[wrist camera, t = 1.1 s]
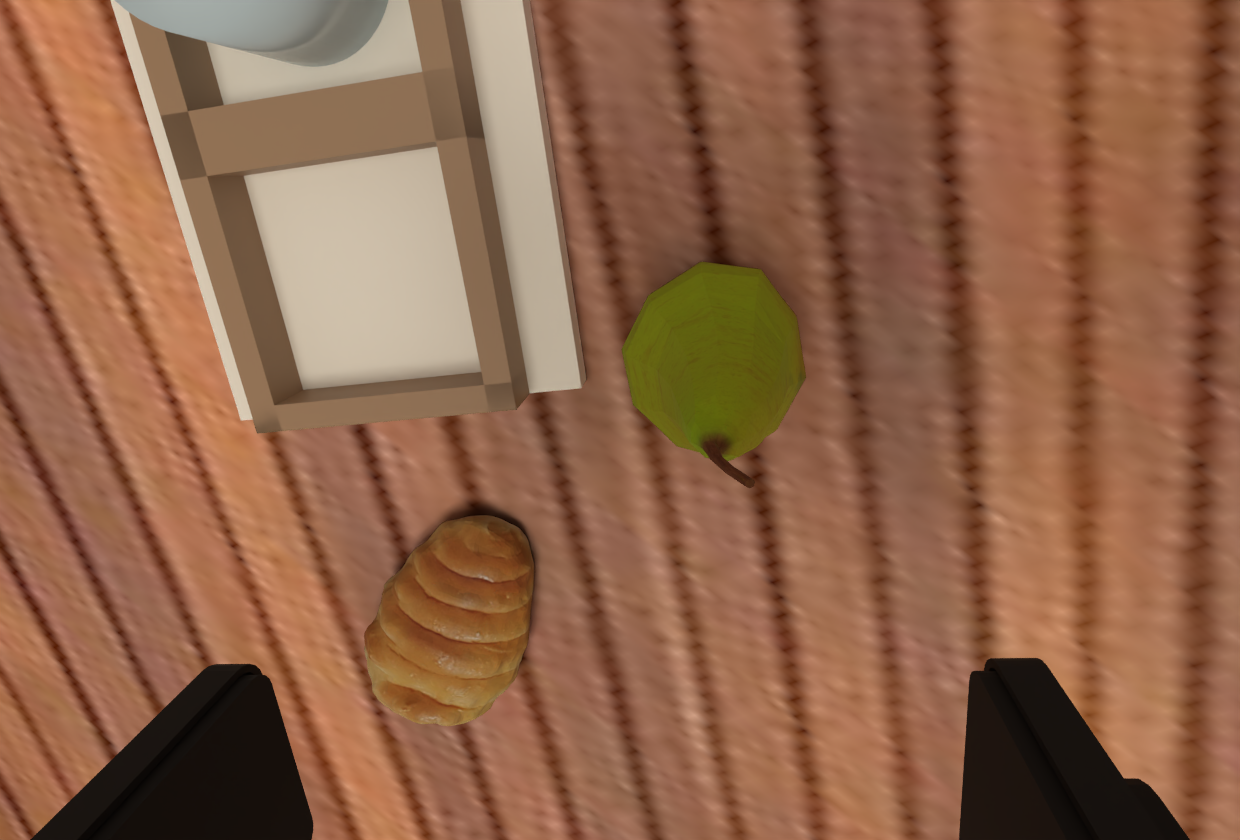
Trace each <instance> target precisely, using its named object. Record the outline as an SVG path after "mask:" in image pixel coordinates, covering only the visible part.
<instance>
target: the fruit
mask: <svg viewBox="0 0 1240 840" xmlns="http://www.w3.org/2000/svg"><path fill="white" fill-rule="evenodd" d="M622 354H623V359H624V363H625V368H626V373H627V378H628V383H629V387H630V392H631V397H632V402H633V405H634V406H635V407H636V408H637V409H638V410H639V411H640V412H642V413H643V414H644V415H645V416H646V417H647V418H648V419H649V420H650V421H651V422H652V423H654V424H655V425H656V426H657V427H658V428H659V429H660V430H661V431H662V432H663V433H664V434H665V435H666V436H667V437H668V438H669V439H670V440H671V441H672V442H673V443H674V444H675V445H676V446H678V447H682V448H685V449H689V450H693V451H696V452H700V453H701V454H702V455H703V456H704V457H706V458H710V459H711V460H712V461H713V462H714V463H715V464H716V465H717V466H719V467H720V468H721V469H722V470H723V471H724V472H725V473H727V474H728V475H730V476H731V477H733V478H734V479H736V480H737V481H738V482H740V483H741V484H743V485H744V486H746V487H748V488H751V487H753V486H754V483H755V481H754V480H753V479H752V478H750V477H748V476H747V475H745V474H744V473H742V472H741V471H739V470H738V469H736V468H735V467H733V466H732V465H731V464H730V463H729V462H728V461H730V460H733V459H735V458H737V457H739V456H741V455H743V454H745V453H746V452H748V451H750V450H752V449H754V448H756V447H757V446H758V445H759V444H760V443H761V442H762V441H763V439H764V438H765V437H767V436H768V435H770V434H771V433H773V432H775V431H776V430H777V429H778V427H779V425H780V423H781V421H782V420H783V418H784V416H785V414H786V412H787V411H788V409H789V407H790V405H791V403H792V402H793V400H794V398H795V396H796V394H797V393H798V391H799V389H800V387H801V385H802V384H803V382H804V380H805V378H806V374H805V367H804V361H803V355H802V348H801V342H800V335H799V329H798V322H797V317H796V315H795V313H794V312H793V311H792V310H791V308H790V307H789V306H788V305H787V304H786V302H785V301H784V300H783V299H782V297H781V296H780V295H779V293H778V292H777V291H776V289H775V288H774V287H773V285H772V284H771V282H770V281H769V280H768V278H767V277H766V276H765V274H764V273H763V272H762V270H761V269H755V268H747V267H739V266H731V265H723V264H716V263H708V262H700V263H698V264H697V265H695V266H693V267H692V268H690V269H689V270H687V271H686V272H684V273H682V274H681V275H679V276H678V277H676V278H675V279H673V280H672V281H670V282H668V283H667V284H665V285H664V286H662V287H661V288H659V289H657V290H656V291H654V292H653V293H651V294H650V295H648V297H647V299H646V301H645V303H644V305H643V307H642V309H641V311H640V313H639V315H638V317H637V319H636V321H635V323H634V325H633V327H632V329H631V331H630V333H629V335H628V337H627V339H626V341H625V343H624V345H623V347H622Z"/></svg>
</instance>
